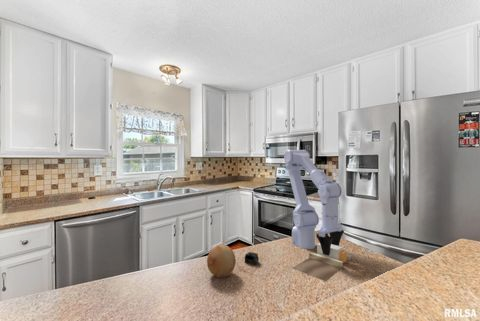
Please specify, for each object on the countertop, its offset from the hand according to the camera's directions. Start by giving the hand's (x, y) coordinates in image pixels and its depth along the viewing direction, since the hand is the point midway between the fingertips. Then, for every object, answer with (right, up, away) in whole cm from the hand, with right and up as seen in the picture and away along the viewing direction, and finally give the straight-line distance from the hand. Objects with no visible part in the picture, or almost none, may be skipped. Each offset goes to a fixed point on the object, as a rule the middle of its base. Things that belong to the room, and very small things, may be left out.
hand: (330, 251), depth 82 cm
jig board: (-4, -4, -3) cm, 6 cm away
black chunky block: (-30, -5, -2) cm, 30 cm away
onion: (-40, -5, -9) cm, 41 cm away
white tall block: (0, -3, 0) cm, 3 cm away
